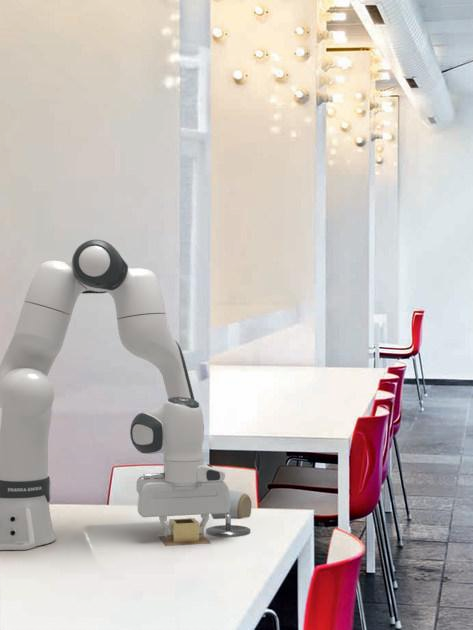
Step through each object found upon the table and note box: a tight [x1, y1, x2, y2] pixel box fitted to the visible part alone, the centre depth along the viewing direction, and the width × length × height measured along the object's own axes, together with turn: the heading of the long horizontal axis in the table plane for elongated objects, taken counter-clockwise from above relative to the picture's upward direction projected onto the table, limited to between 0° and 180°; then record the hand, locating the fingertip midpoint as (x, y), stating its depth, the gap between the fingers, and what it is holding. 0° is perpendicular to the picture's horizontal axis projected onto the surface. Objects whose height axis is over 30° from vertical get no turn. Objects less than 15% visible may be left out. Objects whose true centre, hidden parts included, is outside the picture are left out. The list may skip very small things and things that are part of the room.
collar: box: [168, 517, 200, 543], centre depth 242 cm, size 6×6×4 cm
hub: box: [205, 511, 251, 538], centre depth 250 cm, size 10×10×6 cm
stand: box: [157, 534, 212, 547], centre depth 242 cm, size 10×10×4 cm
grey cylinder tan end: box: [210, 489, 252, 520], centre depth 270 cm, size 11×8×8 cm
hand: (184, 535), depth 242 cm, fingers closed on collar, 6 cm apart
